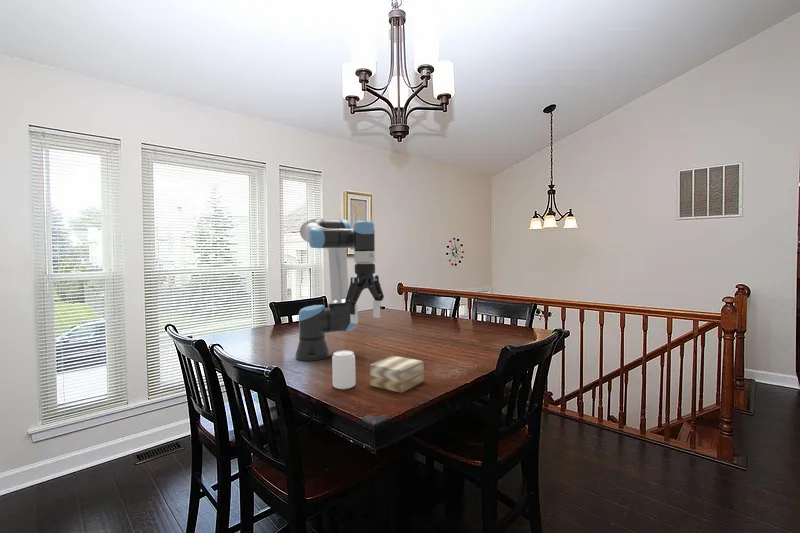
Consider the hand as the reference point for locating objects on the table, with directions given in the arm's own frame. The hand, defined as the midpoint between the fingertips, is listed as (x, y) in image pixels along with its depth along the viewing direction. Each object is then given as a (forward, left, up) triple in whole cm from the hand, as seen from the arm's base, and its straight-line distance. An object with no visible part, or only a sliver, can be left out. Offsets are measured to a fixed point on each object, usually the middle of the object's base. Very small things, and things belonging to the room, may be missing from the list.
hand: (365, 320), depth 144 cm
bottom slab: (+11, +4, -23) cm, 26 cm away
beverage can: (-3, -9, -23) cm, 25 cm away
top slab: (+11, +4, -19) cm, 22 cm away
